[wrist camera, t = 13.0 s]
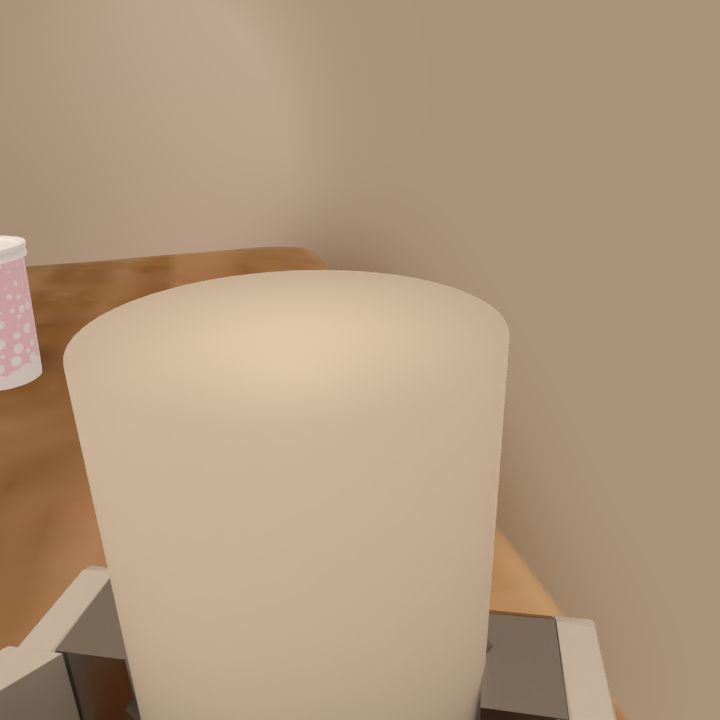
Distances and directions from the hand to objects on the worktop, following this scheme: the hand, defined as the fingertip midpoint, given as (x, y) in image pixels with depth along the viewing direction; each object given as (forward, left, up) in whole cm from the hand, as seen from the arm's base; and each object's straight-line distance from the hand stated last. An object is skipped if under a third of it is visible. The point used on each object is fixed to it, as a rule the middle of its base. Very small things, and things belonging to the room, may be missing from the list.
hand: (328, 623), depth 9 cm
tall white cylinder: (0, +1, -7) cm, 7 cm away
